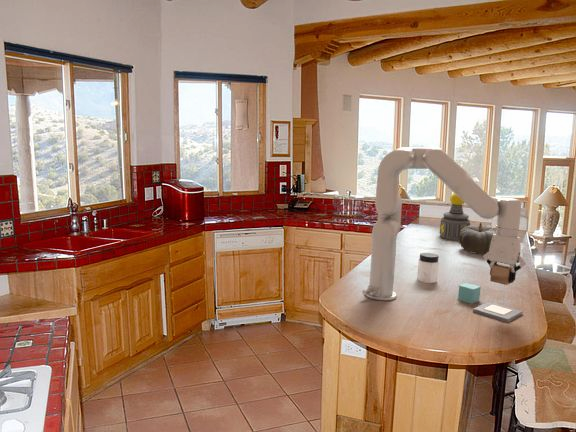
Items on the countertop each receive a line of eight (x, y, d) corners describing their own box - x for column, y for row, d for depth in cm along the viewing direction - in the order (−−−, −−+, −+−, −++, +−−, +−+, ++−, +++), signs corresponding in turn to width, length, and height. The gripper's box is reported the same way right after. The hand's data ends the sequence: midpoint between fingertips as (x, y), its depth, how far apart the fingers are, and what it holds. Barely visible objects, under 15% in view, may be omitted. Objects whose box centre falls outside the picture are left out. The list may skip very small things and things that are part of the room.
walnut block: (506, 285, 174) (508, 269, 173) (490, 281, 178) (491, 265, 178) (513, 282, 178) (515, 266, 177) (497, 278, 183) (499, 262, 182)
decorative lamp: (433, 235, 324) (437, 190, 319) (456, 234, 329) (461, 190, 324) (450, 241, 306) (455, 194, 301) (475, 240, 312) (480, 194, 307)
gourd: (496, 243, 291) (498, 216, 285) (510, 260, 267) (512, 231, 262) (454, 245, 294) (454, 218, 288) (463, 262, 271) (464, 233, 265)
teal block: (472, 303, 190) (473, 289, 189) (457, 299, 194) (459, 285, 193) (479, 300, 194) (480, 286, 193) (465, 296, 198) (466, 282, 197)
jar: (414, 280, 217) (416, 255, 215) (419, 276, 224) (421, 251, 222) (434, 284, 213) (437, 258, 211) (439, 280, 220) (441, 254, 218)
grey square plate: (507, 322, 171) (508, 318, 171) (472, 311, 181) (473, 308, 181) (522, 314, 180) (522, 310, 180) (488, 304, 190) (488, 301, 189)
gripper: (479, 229, 179) (474, 276, 182) (527, 237, 167) (521, 287, 169) (488, 227, 184) (484, 272, 187) (535, 235, 172) (530, 283, 175)
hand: (502, 279), depth 178 cm, fingers closed on walnut block, 6 cm apart
